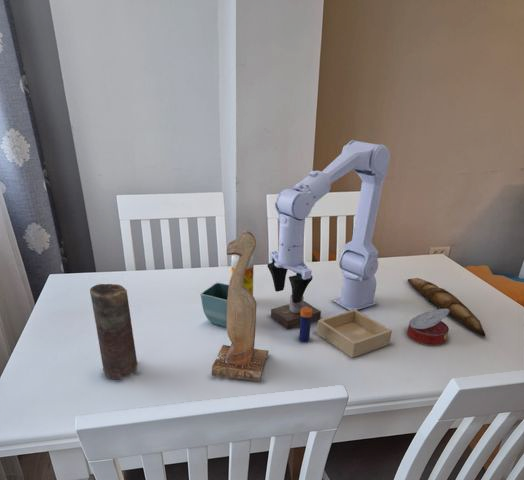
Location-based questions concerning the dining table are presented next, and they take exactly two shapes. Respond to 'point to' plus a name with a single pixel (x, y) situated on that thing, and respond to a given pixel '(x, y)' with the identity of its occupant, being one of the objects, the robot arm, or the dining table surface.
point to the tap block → (292, 315)
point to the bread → (448, 304)
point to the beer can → (249, 272)
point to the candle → (114, 330)
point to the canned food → (429, 327)
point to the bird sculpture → (240, 320)
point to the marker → (305, 324)
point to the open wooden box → (354, 333)
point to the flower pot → (216, 303)
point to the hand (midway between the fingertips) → (287, 296)
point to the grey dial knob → (296, 305)
